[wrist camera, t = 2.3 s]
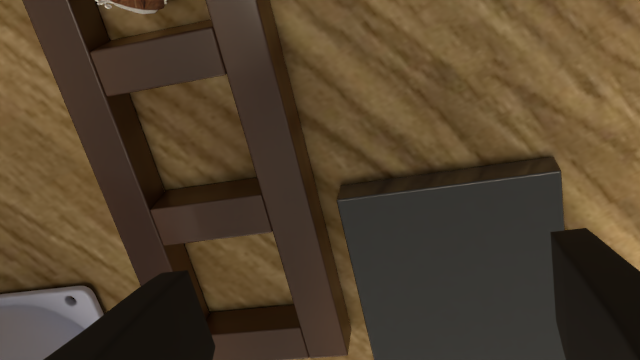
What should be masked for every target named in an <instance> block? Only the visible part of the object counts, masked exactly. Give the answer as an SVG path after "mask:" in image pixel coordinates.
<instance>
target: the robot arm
mask: <svg viewBox="0 0 640 360" xmlns="http://www.w3.org/2000/svg"><path fill="white" fill-rule="evenodd" d="M550 233H551V249H552V265H553V281H554V297H555V313H556V323H557V327H558V331H559V335H560V339H561V343H562V347H563V351H564V354H565V358H566V360H640V271H639V270H637V269H636V268H635V267H633V266H632V265H631V264H630V263H628V262H627V261H626V260H625V259H623V258H622V257H621V256H620V255H619V254H617V253H616V252H615V251H614V250H612V249H611V248H610V247H609V246H608V245H606V244H605V243H604V242H603V241H602V240H600V239H599V238H598V237H597V236H595V235H594V234H593V233H592V232H590V231H589V230H588V229H586V228H583V229H573V230H564V231H554V232H550ZM70 296H72V297H73V298H74V299H75V300H74V299H72V298H71V297H70ZM215 347H216V346H215V343H214V341H213V338H212V335H211V332H210V330H209V327H208V324H207V321H206V319H205V316H204V313H203V310H202V308H201V305H200V302H199V299H198V297H197V294H196V291H195V288H194V286H193V283H192V280H191V277H190V275H189V272H188V270H184V271H174V272H165V273H160V274H159V275H157V276H156V277H154V278H152V279H151V280H149V281H148V282H146V283H145V284H144V285H142V286H141V287H140V288H138V289H137V290H136V291H134V292H133V293H132V294H130V295H129V296H128V297H126V298H125V299H124V300H122V301H121V302H120V303H118V304H117V305H116V306H115V307H113V308H112V309H111V310H109V311H108V312H107V313H106V314H104V313H103V311H102V309H101V307H100V305H99V302H98V300H97V298H96V296H95V294H94V292H93V291H92V290H91V289H90V288H88V287H86V286H72V287H63V288H54V289H44V290H35V291H26V292H17V293H8V294H0V360H213V356H214V351H215Z"/></svg>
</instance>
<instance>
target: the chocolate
mask: <svg viewBox="0 0 640 360" xmlns="http://www.w3.org/2000/svg"><path fill="white" fill-rule="evenodd" d="M95 1H96V2H98V3H97V4H98V5H100V4H101V5H103V4H105V8H107V9H109V8H111V7H112V6H111V5H110V4H106V2H107V3H111V4H114V5H115V6H118V7H120V8H123V9H126V10H129V11H133V12H135V13H141V14H150V13H155V12H157V11H158V10H159V9H162V8H164V4H167V2H166V1H167V0H101V1H98V0H95Z"/></svg>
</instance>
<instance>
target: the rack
mask: <svg viewBox="0 0 640 360" xmlns="http://www.w3.org/2000/svg"><path fill="white" fill-rule="evenodd" d="M22 1H23V3H24V5H25V8H26V10H27V13H28V15H29V17H30V20H31V22H32V25H33V27H34V29H35V32H36V34H37V37H38V39H39V42H40V44H41V46H42V49H43V51H44V54H45V56H46V58H47V61H48V63H49V66H50V68H51V70H52V73H53V75H54V78H55V80H56V82H57V85H58V87H59V90H60V92H61V95H62V97H63V99H64V102H65V104H66V107H67V109H68V111H69V114H70V116H71V119H72V121H73V123H74V126H75V128H76V131H77V133H78V135H79V138H80V140H81V143H82V145H83V148H84V150H85V152H86V155H87V157H88V160H89V162H90V164H91V167H92V169H93V172H94V174H95V176H96V179H97V181H98V184H99V186H100V188H101V191H102V193H103V196H104V198H105V201H106V203H107V205H108V208H109V210H110V213H111V215H112V217H113V220H114V222H115V225H116V227H117V229H118V232H119V234H120V237H121V239H122V241H123V244H124V246H125V249H126V251H127V254H128V256H129V258H130V261H131V263H132V266H133V268H134V270H135V273H136V275H137V278H138V280H139V282H140V285H141V286H142V285H144V284H145V283H146V282H148V281H149V280H151V279H152V278H154V277H156V276H157V275H159V274H160V273H165V272H174V271H184V270H188V272H189V275H190V277H191V280H192V283H193V286H194V288H195V291H196V294H197V297H198V299H199V302H200V305H201V308H202V310H203V313H204V316H205V319H206V321H207V324H208V327H209V330H210V332H211V335H212V338H213V341H214V343H215V346H216V347H215V351H214V356H213V360H290V359H304V358H309V357H310V358H321V357H335V356H347V355H348V349H349V342H350V335H351V326H350V322H349V318H348V314H347V310H346V306H345V302H344V298H343V294H342V290H341V286H340V282H339V278H338V274H337V270H336V266H335V262H334V258H333V254H332V250H331V246H330V242H329V238H328V234H327V230H326V226H325V222H324V218H323V214H322V210H321V206H320V201H319V197H318V193H317V189H316V185H315V181H314V177H313V173H312V169H311V165H310V161H309V157H308V153H307V149H306V145H305V141H304V137H303V133H302V129H301V125H300V121H299V117H298V113H297V109H296V105H295V101H294V97H293V93H292V89H291V85H290V81H289V77H288V73H287V69H286V65H285V61H284V57H283V53H282V49H281V45H280V40H279V36H278V32H277V28H276V24H275V20H274V16H273V12H272V8H271V4H270V0H206V4H207V7H208V11H209V14H210V18H211V20H208V21H203V22H198V23H193V24H188V25H184V26H179V27H174V28H169V29H164V30H160V31H155V32H150V33H145V34H140V35H136V36H131V37H126V38H121V39H116V40H112V41H109V39H108V36H107V33H106V30H105V28H104V25H103V22H102V20H101V17H100V14H99V11H98V9H97V6H96V3H95V0H22ZM226 74H227V76H228V79H229V83H230V86H231V90H232V93H233V96H234V100H235V103H236V107H237V110H238V114H239V117H240V120H241V124H242V127H243V131H244V134H245V138H246V141H247V144H248V148H249V151H250V155H251V158H252V162H253V165H254V168H255V172H256V175H257V178H252V179H245V180H238V181H231V182H224V183H217V184H210V185H203V186H196V187H189V188H182V189H175V190H168V191H164V189H163V186H162V183H161V181H160V178H159V175H158V172H157V170H156V167H155V164H154V161H153V159H152V156H151V153H150V151H149V148H148V145H147V142H146V140H145V137H144V134H143V131H142V129H141V126H140V123H139V120H138V118H137V115H136V112H135V110H134V107H133V104H132V101H131V99H130V96H129V93H131V92H136V91H142V90H147V89H153V88H158V87H163V86H169V85H174V84H179V83H185V82H190V81H196V80H201V79H206V78H212V77H217V76H223V75H226ZM272 231H273V234H274V237H275V240H276V244H277V247H278V251H279V254H280V258H281V261H282V264H283V268H284V271H285V275H286V278H287V282H288V285H289V288H290V292H291V295H292V299H293V302H294V305H287V306H276V307H265V308H255V309H244V310H233V311H222V312H211V313H210V314H209V311H208V309H207V306H206V303H205V301H204V298H203V295H202V292H201V290H200V287H199V284H198V281H197V279H196V276H195V273H194V271H193V268H192V265H191V262H190V260H189V257H188V254H187V251H186V249H185V246H184V243H189V242H197V241H205V240H213V239H222V238H230V237H238V236H246V235H255V234H263V233H271V232H272Z"/></svg>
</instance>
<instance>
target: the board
mask: <svg viewBox="0 0 640 360" xmlns="http://www.w3.org/2000/svg"><path fill="white" fill-rule="evenodd" d="M337 204H338V208H339V213H340V217H341V221H342V225H343V230H344V234H345V238H346V242H347V247H348V251H349V255H350V259H351V264H352V268H353V272H354V276H355V281H356V285H357V289H358V293H359V298H360V302H361V306H362V311H363V315H364V319H365V323H366V328H367V332H368V336H369V340H370V345H371V349H372V353H373V357H374V360H566V358H565V354H564V351H563V347H562V343H561V339H560V335H559V331H558V327H557V323H556V313H555V297H554V281H553V265H552V249H551V233H550V232H554V231H564V230H565V228H564V211H563V194H562V177H561V170H560V168H559V166H558V164H557V162H556V160H555V158H554V157H547V158H540V159H532V160H525V161H517V162H510V163H503V164H495V165H488V166H481V167H473V168H466V169H459V170H451V171H444V172H436V173H429V174H422V175H414V176H407V177H400V178H392V179H385V180H378V181H370V182H363V183H355V184H348V185H341V186H340V189H339V193H338V198H337Z"/></svg>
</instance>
